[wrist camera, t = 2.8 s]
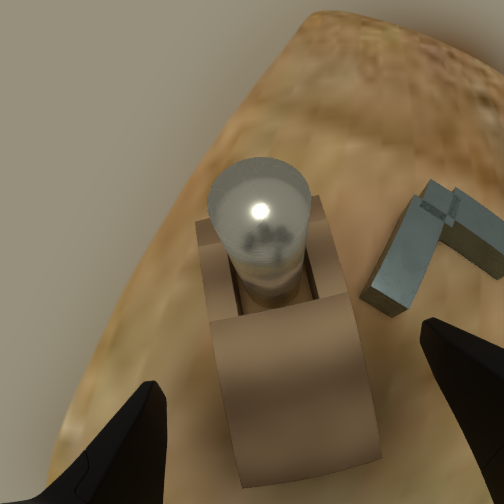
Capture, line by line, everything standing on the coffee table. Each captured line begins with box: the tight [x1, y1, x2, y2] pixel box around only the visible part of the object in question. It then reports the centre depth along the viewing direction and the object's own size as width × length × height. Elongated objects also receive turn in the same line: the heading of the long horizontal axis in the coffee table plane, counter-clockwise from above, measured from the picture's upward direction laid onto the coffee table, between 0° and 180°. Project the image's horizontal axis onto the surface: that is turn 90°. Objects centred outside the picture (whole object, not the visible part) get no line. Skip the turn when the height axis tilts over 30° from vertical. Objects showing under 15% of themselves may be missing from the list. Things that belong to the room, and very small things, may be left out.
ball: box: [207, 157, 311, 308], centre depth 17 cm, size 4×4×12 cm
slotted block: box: [195, 195, 382, 488], centre depth 20 cm, size 19×9×3 cm, turn 11°
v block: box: [359, 179, 504, 317], centre depth 21 cm, size 9×16×4 cm, turn 101°
